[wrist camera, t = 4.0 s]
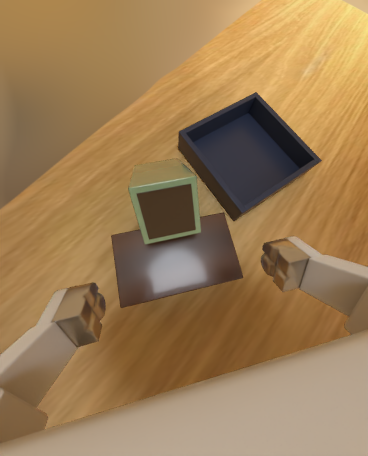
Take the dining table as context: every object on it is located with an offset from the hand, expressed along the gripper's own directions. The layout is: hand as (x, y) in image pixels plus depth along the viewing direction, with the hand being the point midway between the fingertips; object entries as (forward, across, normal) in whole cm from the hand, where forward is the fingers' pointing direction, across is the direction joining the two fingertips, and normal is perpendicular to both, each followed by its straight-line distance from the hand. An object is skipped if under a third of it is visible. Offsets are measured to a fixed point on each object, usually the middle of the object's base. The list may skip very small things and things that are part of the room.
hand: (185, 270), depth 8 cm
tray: (+19, -12, 0) cm, 23 cm away
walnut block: (+10, 0, +8) cm, 13 cm away
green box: (+15, 0, +4) cm, 15 cm away
